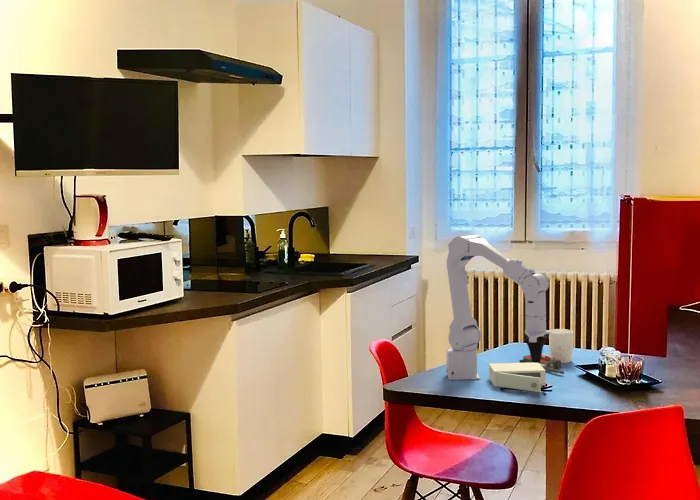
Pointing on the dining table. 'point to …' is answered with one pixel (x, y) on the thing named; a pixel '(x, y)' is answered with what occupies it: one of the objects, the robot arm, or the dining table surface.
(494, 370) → the device housing
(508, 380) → the side door
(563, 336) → the white cup
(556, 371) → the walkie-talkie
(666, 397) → the dining table surface
